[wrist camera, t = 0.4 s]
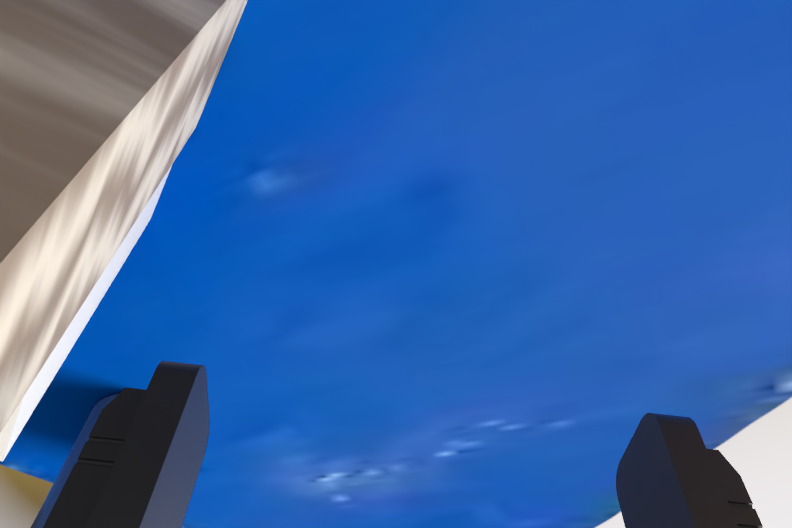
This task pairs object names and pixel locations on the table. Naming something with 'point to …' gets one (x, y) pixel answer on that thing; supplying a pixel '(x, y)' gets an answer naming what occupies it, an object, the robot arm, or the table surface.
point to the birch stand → (87, 147)
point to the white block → (74, 329)
